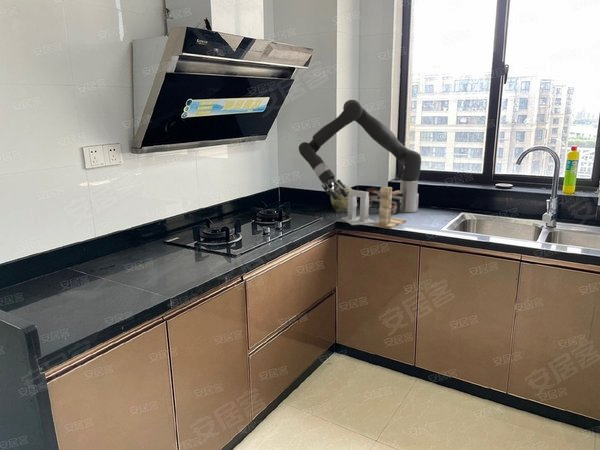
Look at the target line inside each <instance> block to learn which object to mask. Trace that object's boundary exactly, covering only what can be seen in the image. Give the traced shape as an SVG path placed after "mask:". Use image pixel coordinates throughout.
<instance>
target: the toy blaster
mask: <svg viewBox="0 0 600 450" xmlns="http://www.w3.org/2000/svg"><path fill="white" fill-rule="evenodd" d="M380 190H381V189H379V188H377V187H375V186H372V187H370V188H366V191H365V190H364V191H365V192H369V210H370V209H371V208H372V209H376V210H378V209H380ZM402 197H403V193H401V194H400V193H399V194H396V195H393V196H392V201H391V215H394V214H395V213H396V214H397V213H398V212H401V211H400V210H401V208H400V206H401V202H400V200H402V199H403V198H402ZM397 200H399V201H397ZM375 202H376V203H377V202H378V204H379V205H377V206H373V205H374V203H375Z"/></svg>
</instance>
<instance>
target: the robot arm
mask: <svg viewBox="0 0 600 450" xmlns="http://www.w3.org/2000/svg"><path fill="white" fill-rule="evenodd" d="M353 122H355V123H357V124H358V125H360V127H362V129H363V130H364V132H366V133H367V134H368V135H369V137H370V138H371V139H372V140H373V141H375V142H376V143H377V144H378V145H379V146H381V147H382V148H383V149H385V150H386V151H387V152H389V153H390V154H391V155H393V156H394V158H396V159H397V160H398V161H399V162H400V164H401V165H402V166H403V173H401V176H400V186H399V187H400V189H399V190H400V194H401V193H403V197H402V198H403V199H402V200H400V199H399V202H401V206H400V208H401V210H400V212H401V213H415V212H418V210H419V209H418V208H419V195H420V194H419V193H418V187H419V177H420V175H421V169H422V168H421V167H422V157H421V154H420V153H419V152H417V151H415V150H411V149H410V148H408V147H406V146H405V145H403V143H401V142H400V141H399V139H398V137H397V136H396V135H395V133H394V132H393V131H392V130H391V129H390V128H388V127H387V126H386V125H385V124H384V123H382V122H381V121H379V120H378V119H377V118H375V117H374V116H372V115H371V114H370V113H369V112H368V111H367V110H366V109H365V108H364V107H363V106H362V105H361V104H360V102H359V101H358V100H356V99H349V100H346V101H345V102H344V104H343V111H342V112H341V113H340V114H339V115H338V116H337V117H336V118H334V119H333V120H332V121H331V122H329V123H327V124H326V125H325V124H324V126H322V127H321V128H320V129H319V130H318V131H317V132H316V133H315V134H313V136H312V140H310V142H307V141H304V142H301V143H300V144H299V146H298V153H299V154H300V155H301V156H302V158H303V159H304V160H305V161H306V162H307V163H308V164H309V166H310V168H312V170H313V172H314V173H315V175H316V177H317V178H318V179H319V181H320V182H321V184H322V185H321V187H322V188H323V190H324V192H325V193H326V194H327V195H330V196H331V195H332V197H333V198H334V199H335V200H337V199H338V196H337V195H336V193H335V192H334V189H336V190H339V191H340V192H341V194H342V195H343V196H344V197H347V196H348V195H347V193H346V192H345V190H344V189H345V188H346V187H345V186H344V183H343V182H342V180H341V179H335V178H336V177H335V174H334V172H333V171H332V170H331V169H330V167H329V166H328V165H327V164H326V163H325V161H324V160H323V158H321V156H320V155H319V154H317V152H318V151H319V150H320V149H321V148H322V146H323V145H324V144H326V143H327V142H328V141H329V140H330V139H331V138H332V137H334V136H335V135H336V134H337V133H338V132H339V131H341V130H342V129H343V128H345V127H346V126H348V125H350V124H351V123H353ZM342 186H343V187H342ZM339 188H340V189H339Z"/></svg>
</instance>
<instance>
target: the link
mask: <svg viewBox="0 0 600 450" xmlns="http://www.w3.org/2000/svg"><path fill="white" fill-rule="evenodd" d="M358 198H360V199H359V200H360V201H359V217H360V221H361V222H366V221H368V218H369V213H370V212H369V210H370V209H369V192H365V190H364V191H363V190H357V189H352V190H349V196H348V211H347V218H348V219H350V220H353V219H356V217H357V208H356V203H357V204H358V202H357V200H358Z"/></svg>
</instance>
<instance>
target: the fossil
mask: <svg viewBox="0 0 600 450" xmlns="http://www.w3.org/2000/svg"><path fill="white" fill-rule="evenodd" d="M343 185H344V186H345V187H346V188H345V189H344V190H345V192H346V193H347V195H348V196H349V190H353V188H352V187H350V186H349V185H346V184H344V183H343ZM342 187H343V186H342ZM339 189H340V188H339ZM334 192H335V193H336V195H337V196H338V199H337V200H335V199H334V198H333V197H332V195H330V203H331V205H332V208H333V210H334V212H337V213H338V212H348V196H347V197H344V196H343V195H342V194H341V192H340V191H339V190H336V189H334ZM356 209H358V202H357V203H356Z"/></svg>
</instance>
